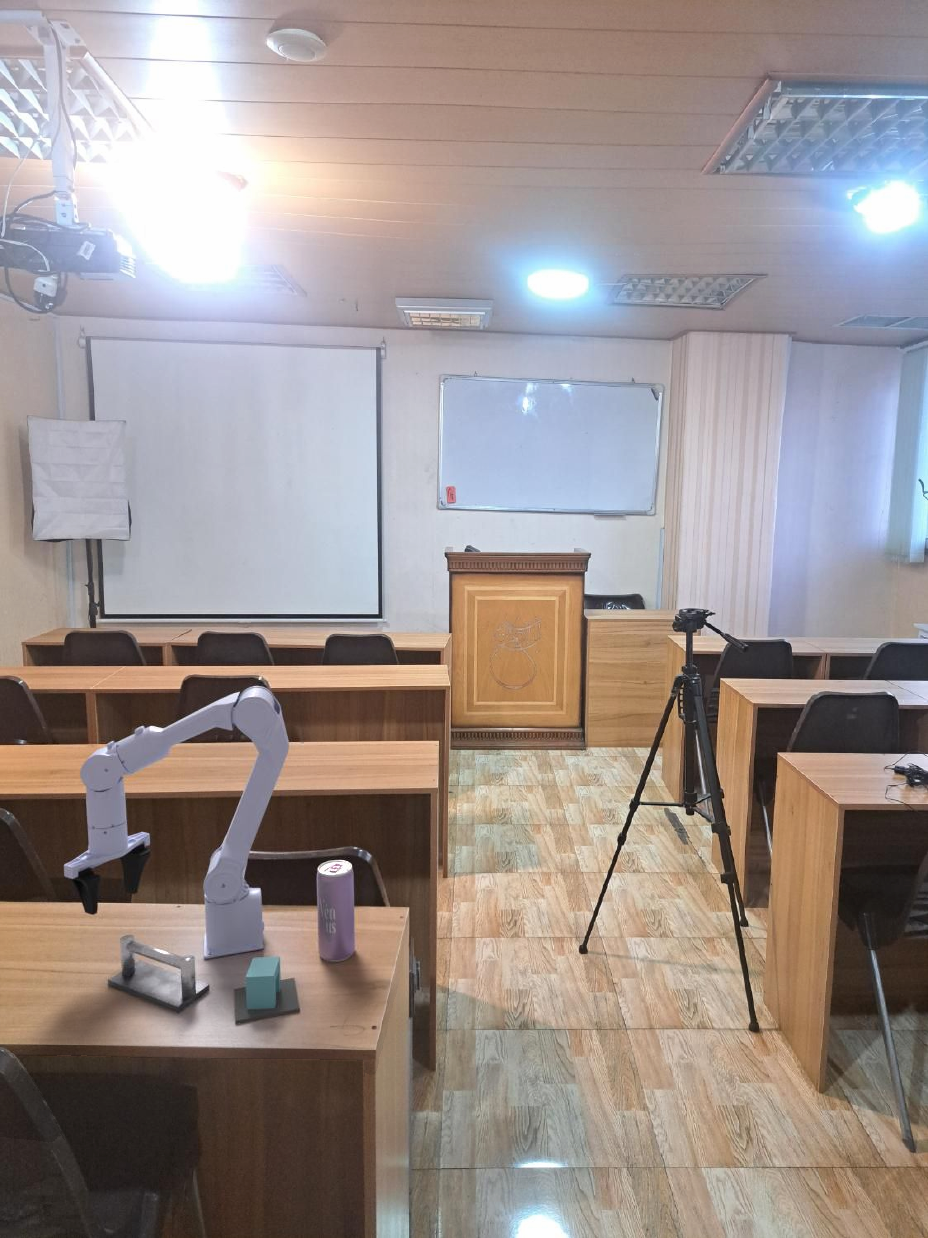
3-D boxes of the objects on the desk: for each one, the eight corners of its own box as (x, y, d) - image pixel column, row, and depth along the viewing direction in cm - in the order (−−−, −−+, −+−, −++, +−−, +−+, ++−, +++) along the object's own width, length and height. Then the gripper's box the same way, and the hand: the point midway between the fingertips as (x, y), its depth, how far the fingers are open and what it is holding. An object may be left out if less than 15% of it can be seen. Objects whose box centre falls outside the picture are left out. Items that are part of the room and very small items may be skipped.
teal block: (254, 988, 112) (253, 957, 112) (280, 987, 112) (279, 956, 112) (246, 1009, 107) (245, 977, 107) (274, 1008, 108) (273, 976, 107)
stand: (140, 966, 119) (138, 927, 119) (209, 990, 113) (207, 950, 112) (108, 986, 114) (105, 946, 113) (178, 1013, 107) (176, 971, 107)
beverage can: (361, 947, 125) (359, 862, 123) (344, 966, 119) (342, 877, 117) (329, 941, 126) (328, 857, 125) (311, 960, 121) (309, 872, 119)
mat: (294, 980, 115) (294, 977, 115) (299, 1011, 108) (299, 1008, 108) (234, 992, 112) (233, 989, 112) (235, 1024, 105) (235, 1021, 105)
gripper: (128, 804, 128) (132, 879, 129) (49, 834, 115) (54, 917, 116) (157, 810, 125) (160, 887, 126) (79, 842, 112) (84, 927, 113)
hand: (111, 902), depth 121 cm, fingers open, 7 cm apart
